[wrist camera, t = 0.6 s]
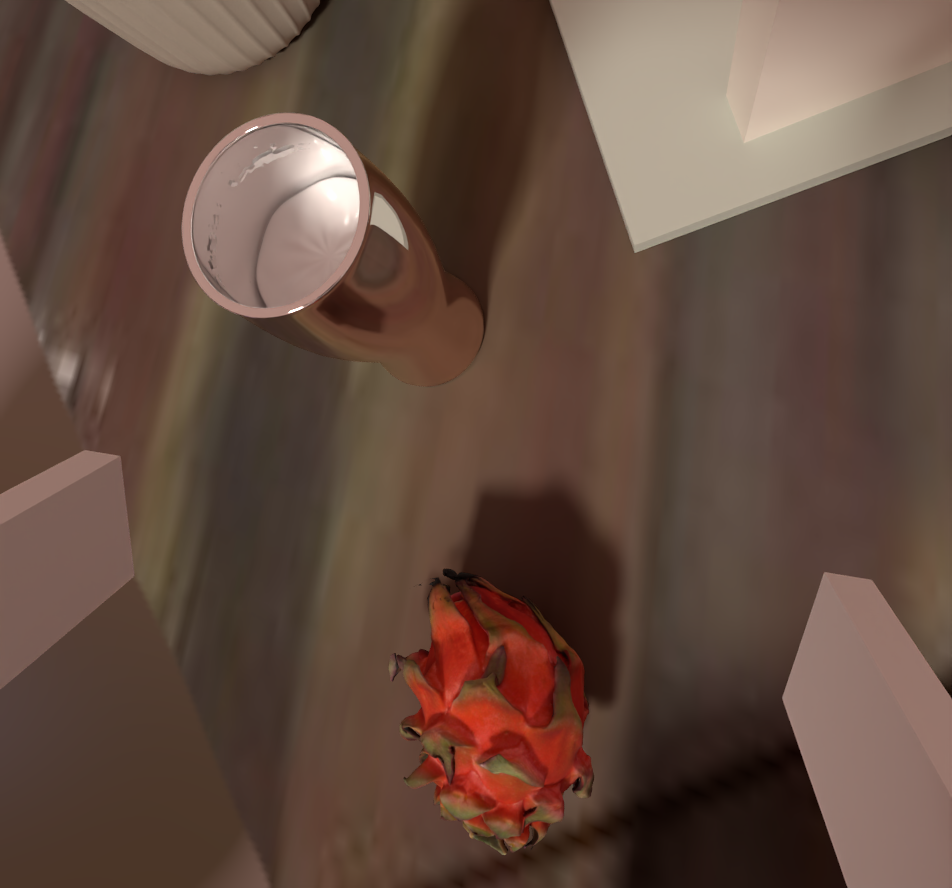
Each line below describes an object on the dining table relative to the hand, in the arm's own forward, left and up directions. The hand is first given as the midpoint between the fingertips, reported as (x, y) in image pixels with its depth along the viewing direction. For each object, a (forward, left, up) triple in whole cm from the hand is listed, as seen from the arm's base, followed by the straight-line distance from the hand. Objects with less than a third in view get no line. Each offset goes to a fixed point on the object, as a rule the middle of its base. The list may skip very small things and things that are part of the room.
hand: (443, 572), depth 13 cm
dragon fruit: (-6, +5, -21) cm, 23 cm away
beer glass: (+12, +4, -21) cm, 24 cm away
